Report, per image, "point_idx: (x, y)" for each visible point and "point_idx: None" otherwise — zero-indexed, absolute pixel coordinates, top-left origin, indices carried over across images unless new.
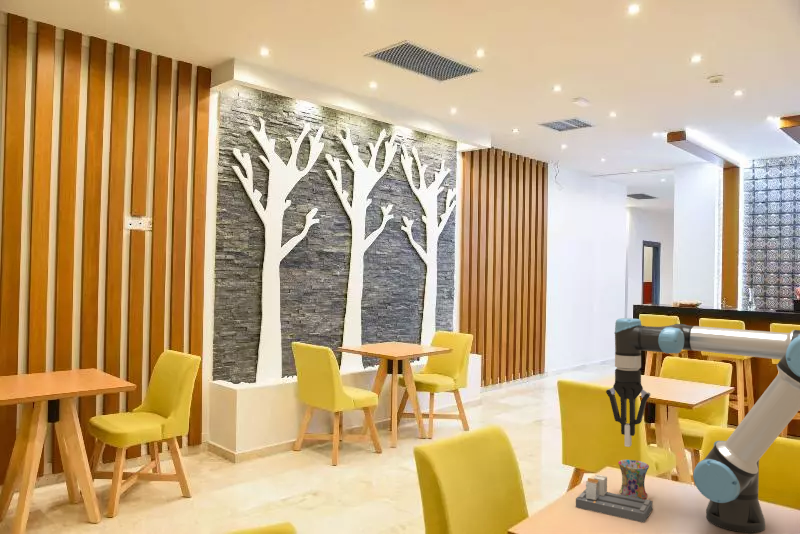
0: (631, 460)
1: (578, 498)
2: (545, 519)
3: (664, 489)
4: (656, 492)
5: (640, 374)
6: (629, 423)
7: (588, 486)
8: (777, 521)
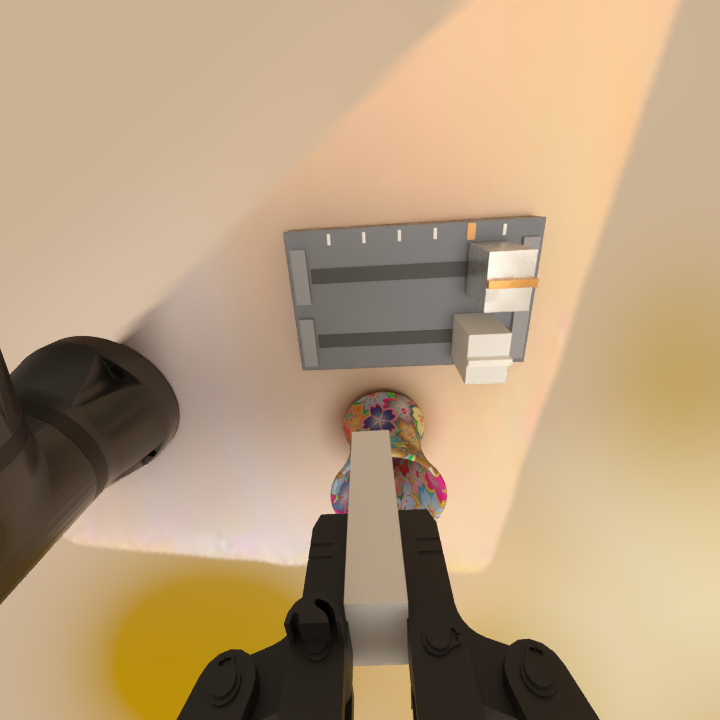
0: None
1: (536, 231)
2: None
3: (328, 512)
4: None
5: None
6: (341, 634)
7: (519, 247)
8: None
